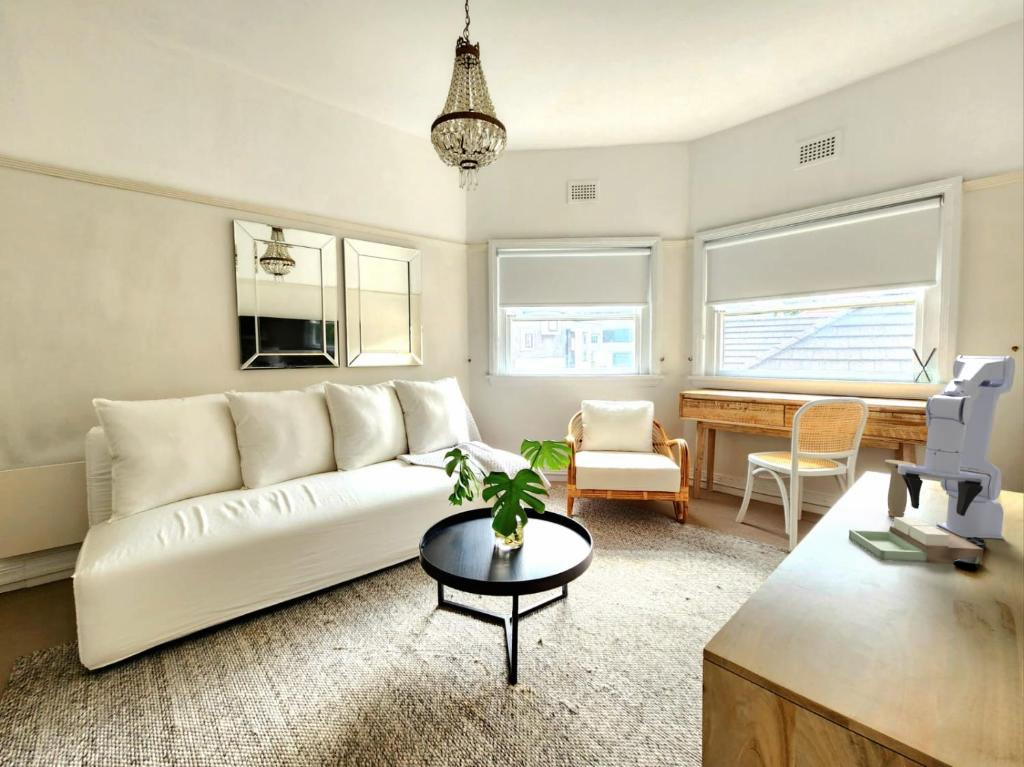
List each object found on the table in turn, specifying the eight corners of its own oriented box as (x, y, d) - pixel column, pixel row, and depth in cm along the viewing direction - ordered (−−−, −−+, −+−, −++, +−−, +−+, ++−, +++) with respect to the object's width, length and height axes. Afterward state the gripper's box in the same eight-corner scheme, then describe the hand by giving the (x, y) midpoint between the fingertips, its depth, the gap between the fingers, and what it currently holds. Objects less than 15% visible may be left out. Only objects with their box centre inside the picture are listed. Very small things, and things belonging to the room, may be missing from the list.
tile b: (931, 537, 102) (932, 526, 101) (948, 546, 97) (949, 534, 97) (909, 536, 102) (910, 525, 102) (925, 545, 98) (926, 534, 97)
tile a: (913, 528, 106) (914, 517, 106) (929, 536, 102) (930, 525, 102) (893, 527, 107) (894, 517, 107) (907, 535, 102) (908, 524, 102)
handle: (908, 522, 119) (912, 466, 117) (878, 514, 124) (882, 461, 122) (913, 518, 121) (918, 463, 120) (884, 510, 127) (888, 458, 125)
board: (938, 542, 107) (940, 527, 107) (981, 564, 96) (983, 548, 96) (888, 540, 108) (890, 525, 108) (925, 562, 97) (927, 546, 97)
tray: (888, 540, 108) (889, 531, 108) (925, 562, 97) (926, 552, 97) (848, 538, 109) (849, 529, 109) (880, 560, 98) (881, 550, 98)
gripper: (907, 448, 98) (900, 509, 99) (998, 458, 92) (991, 523, 93) (897, 443, 105) (891, 501, 105) (982, 452, 98) (975, 513, 99)
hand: (937, 510), depth 99 cm, fingers open, 7 cm apart
